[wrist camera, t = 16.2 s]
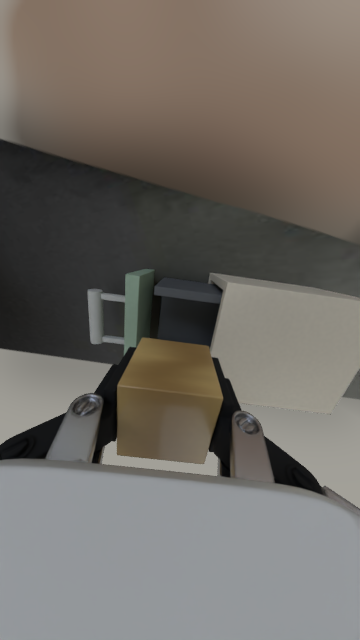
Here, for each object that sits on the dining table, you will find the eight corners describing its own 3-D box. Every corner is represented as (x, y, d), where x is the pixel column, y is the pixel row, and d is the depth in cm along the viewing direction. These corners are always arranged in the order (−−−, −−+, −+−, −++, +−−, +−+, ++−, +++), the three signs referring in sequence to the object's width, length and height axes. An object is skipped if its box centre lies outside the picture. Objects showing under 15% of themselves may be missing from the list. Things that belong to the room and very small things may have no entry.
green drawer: (109, 339, 25) (79, 372, 18) (108, 263, 21) (69, 265, 14) (225, 354, 25) (242, 393, 18) (244, 282, 22) (276, 295, 14)
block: (208, 345, 11) (224, 398, 7) (197, 396, 12) (204, 465, 8) (141, 336, 11) (116, 385, 7) (138, 389, 12) (116, 455, 8)
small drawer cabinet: (194, 350, 26) (200, 398, 17) (209, 272, 22) (227, 282, 13) (281, 362, 27) (331, 414, 18) (312, 287, 22) (398, 306, 13)
